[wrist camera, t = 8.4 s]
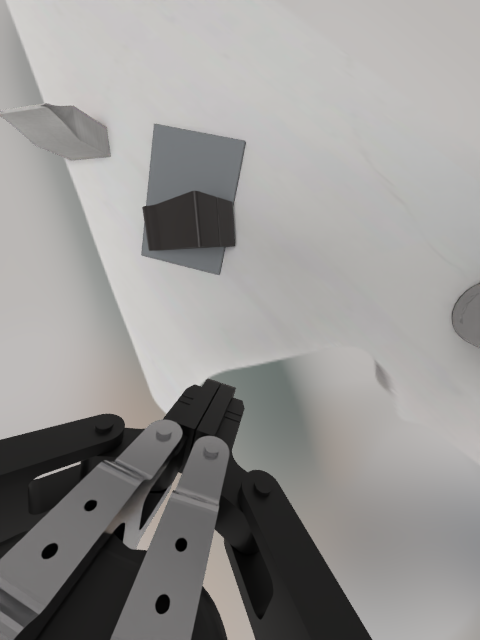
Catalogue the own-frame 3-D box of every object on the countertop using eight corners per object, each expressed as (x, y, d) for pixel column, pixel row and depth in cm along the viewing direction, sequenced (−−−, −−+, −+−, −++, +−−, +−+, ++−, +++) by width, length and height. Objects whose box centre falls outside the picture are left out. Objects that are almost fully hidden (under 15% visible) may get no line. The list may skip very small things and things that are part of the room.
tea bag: (110, 156, 37) (50, 125, 28) (71, 160, 39) (1, 132, 29) (106, 127, 36) (43, 85, 27) (66, 132, 38) (-8, 93, 28)
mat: (245, 142, 34) (244, 140, 33) (219, 274, 39) (218, 275, 39) (156, 125, 35) (154, 123, 35) (143, 255, 41) (141, 255, 40)
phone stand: (195, 190, 28) (119, 204, 33) (200, 247, 29) (128, 252, 34) (233, 201, 35) (167, 211, 40) (235, 246, 37) (172, 250, 42)
